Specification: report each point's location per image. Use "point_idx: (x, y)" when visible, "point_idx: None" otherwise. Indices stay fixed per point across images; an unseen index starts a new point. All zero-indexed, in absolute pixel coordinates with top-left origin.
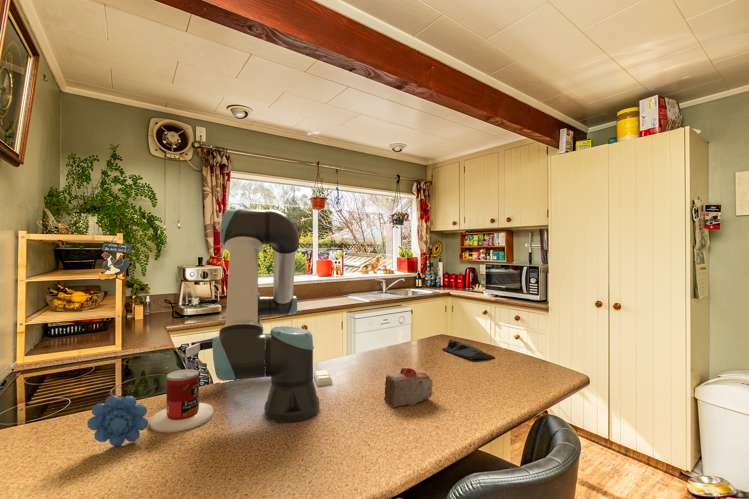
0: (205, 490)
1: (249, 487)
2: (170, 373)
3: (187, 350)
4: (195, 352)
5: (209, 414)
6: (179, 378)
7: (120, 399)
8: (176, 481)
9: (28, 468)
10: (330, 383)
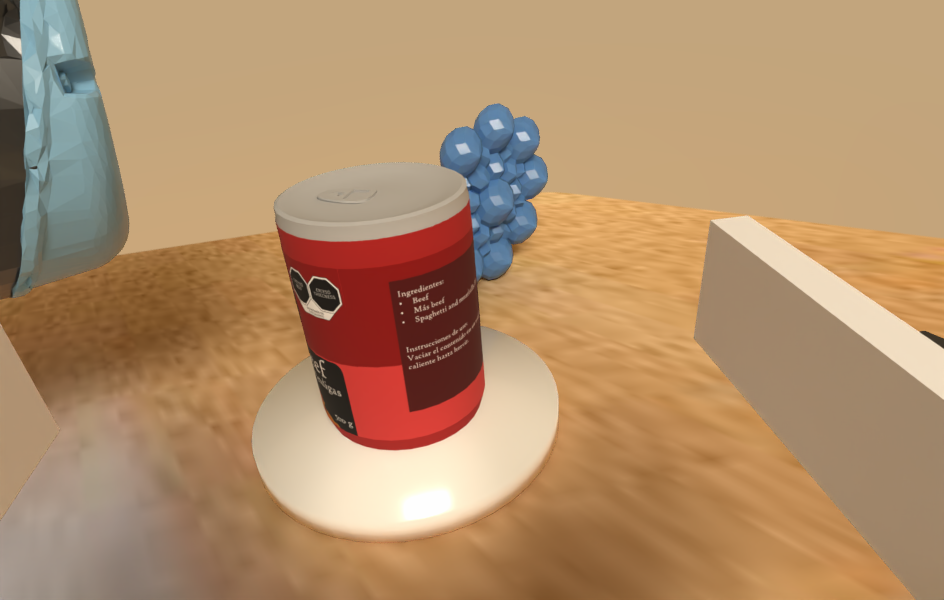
0: (145, 253)
1: None
2: (456, 179)
3: (716, 249)
4: (815, 458)
5: (255, 427)
6: (342, 169)
7: (478, 129)
8: (222, 252)
9: (608, 211)
10: None
